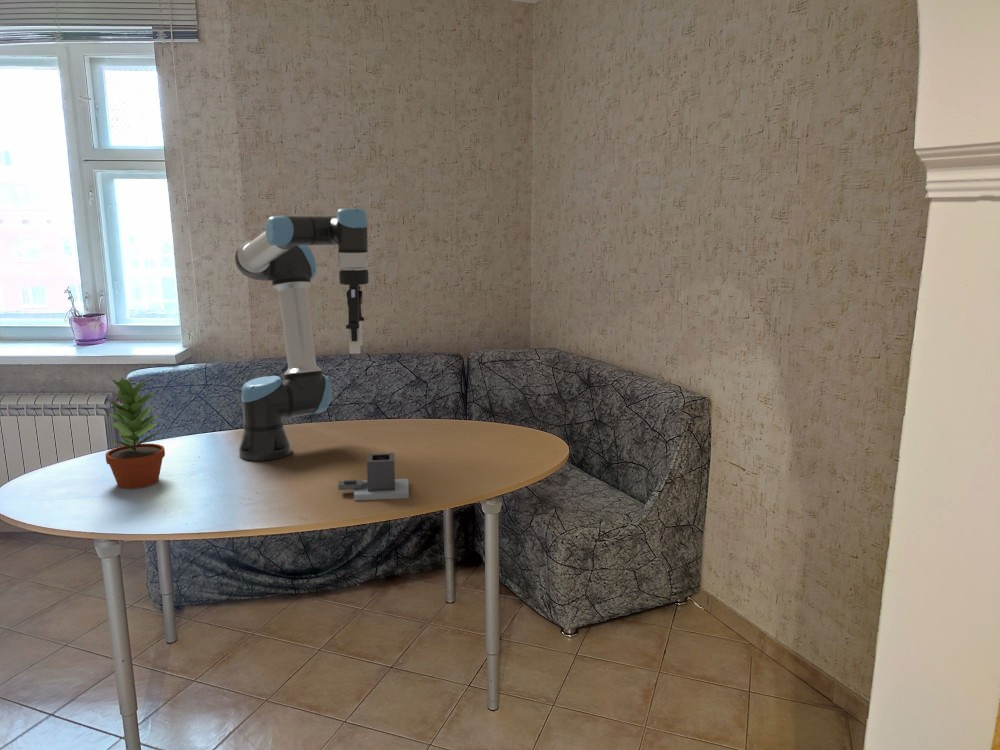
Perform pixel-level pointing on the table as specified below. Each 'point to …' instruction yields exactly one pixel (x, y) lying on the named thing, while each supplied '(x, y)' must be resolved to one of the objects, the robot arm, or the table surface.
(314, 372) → the robot arm
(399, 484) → the keeper
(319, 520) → the table surface
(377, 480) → the grey square socket
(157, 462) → the potted plant
